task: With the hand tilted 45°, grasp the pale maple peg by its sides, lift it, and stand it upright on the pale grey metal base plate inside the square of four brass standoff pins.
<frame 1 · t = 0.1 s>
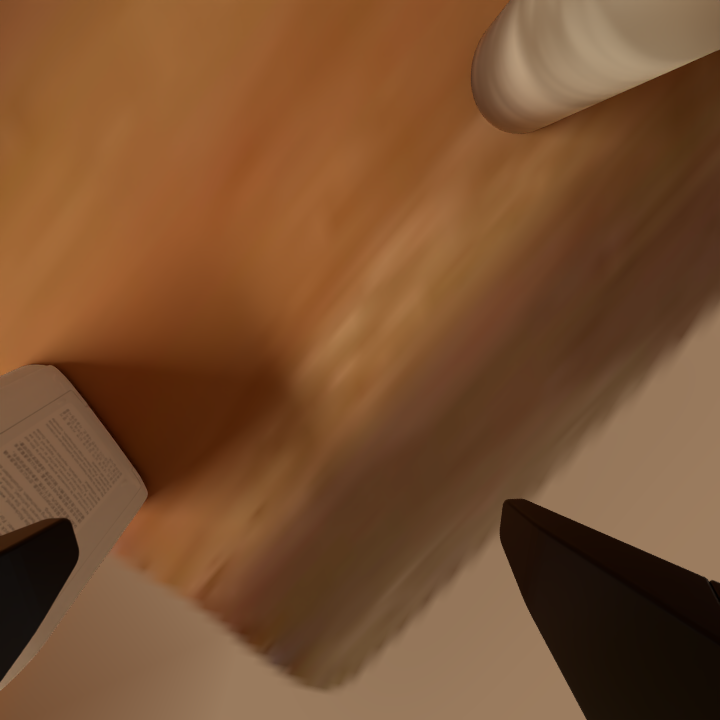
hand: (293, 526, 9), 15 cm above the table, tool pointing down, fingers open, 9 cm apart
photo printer: (82, 438, 24), on the table
maple peg: (524, 72, 19), on the table
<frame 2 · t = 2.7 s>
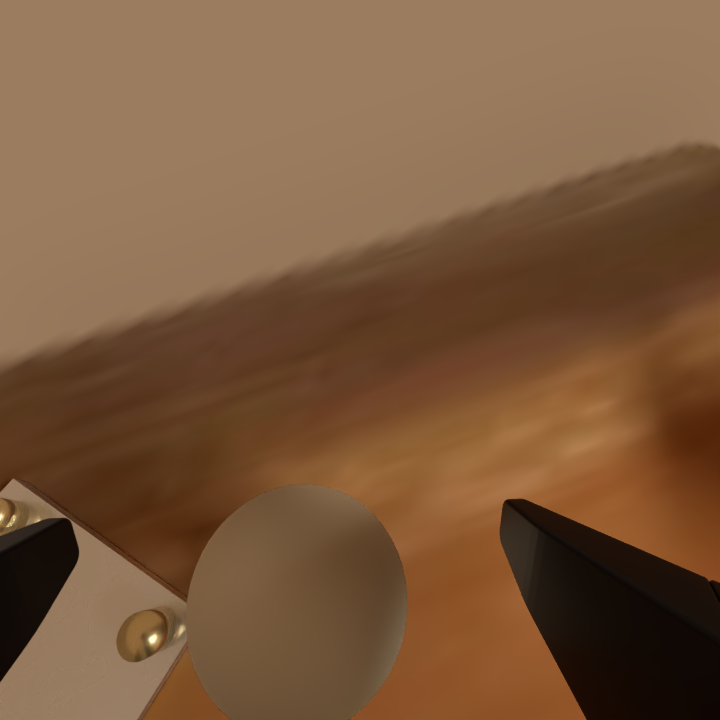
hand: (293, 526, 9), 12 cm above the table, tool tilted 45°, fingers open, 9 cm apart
base plate: (12, 673, 17), on the table
maple peg: (321, 578, 18), on the table
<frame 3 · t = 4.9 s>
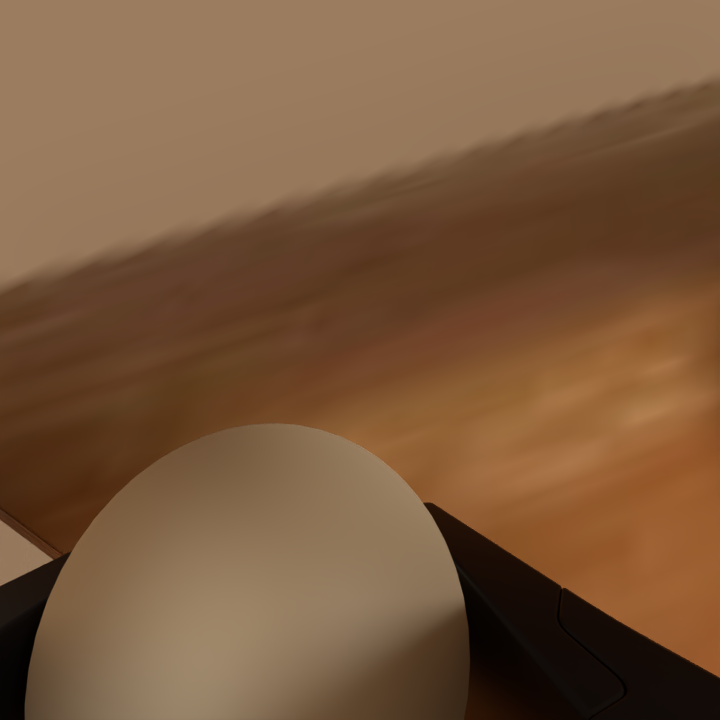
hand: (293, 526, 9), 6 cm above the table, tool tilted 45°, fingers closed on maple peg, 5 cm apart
maple peg: (313, 581, 14), on the table, touching gripper
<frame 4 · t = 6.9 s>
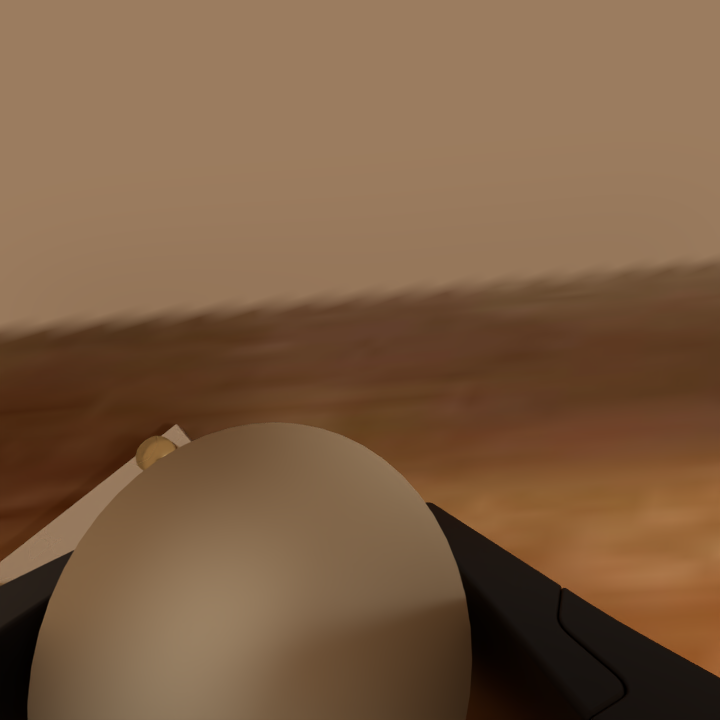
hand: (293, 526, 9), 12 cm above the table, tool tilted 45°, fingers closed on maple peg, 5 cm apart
base plate: (146, 604, 18), on the table
maple peg: (314, 581, 14), point 5 cm above the table, touching gripper
when the fingers open (8 cm above the table, at t = 8.7 s): maple peg drops 1 cm, resting on base plate.
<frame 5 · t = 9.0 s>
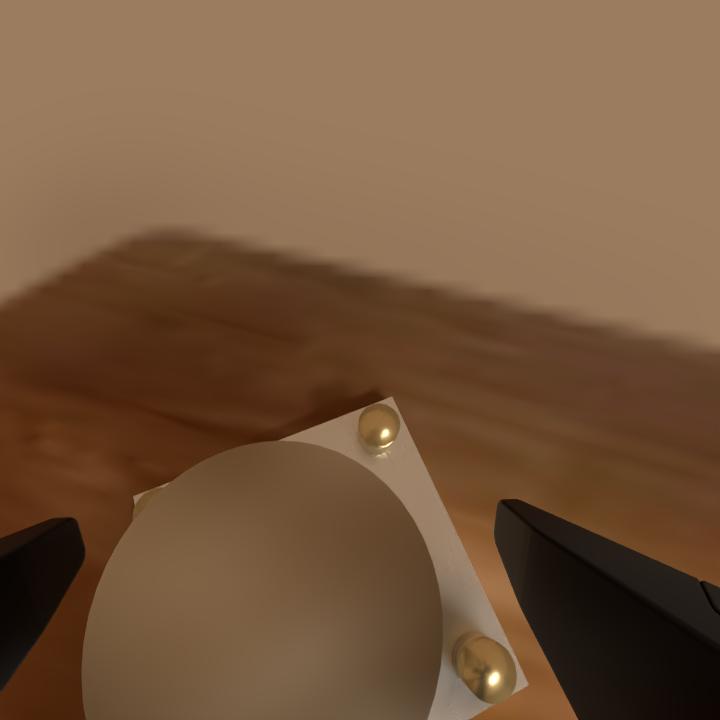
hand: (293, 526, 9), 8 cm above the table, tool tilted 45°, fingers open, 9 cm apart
base plate: (317, 582, 16), on the table
maple peg: (316, 581, 15), point 1 cm above the table, touching base plate
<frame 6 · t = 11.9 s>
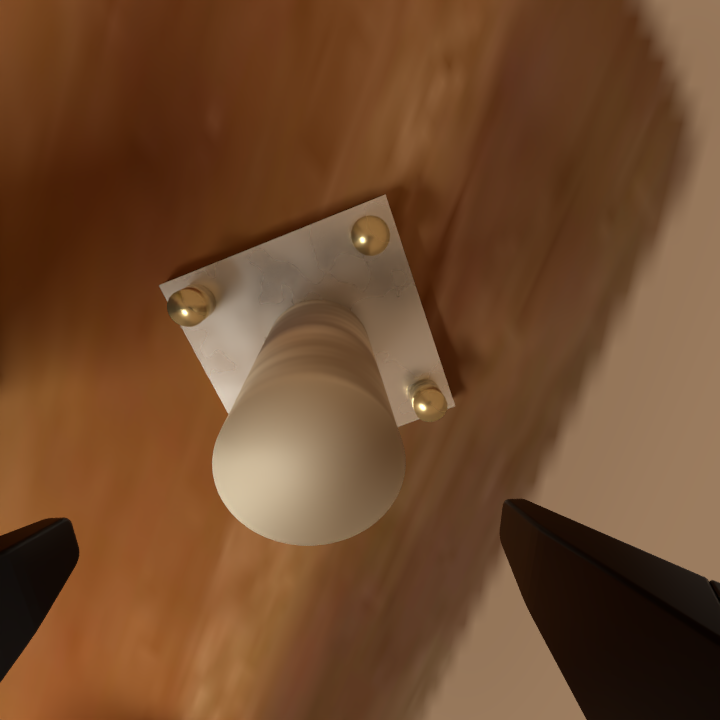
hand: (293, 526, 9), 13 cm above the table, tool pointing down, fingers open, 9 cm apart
base plate: (317, 345, 21), on the table
maple peg: (318, 350, 20), point 1 cm above the table, touching base plate
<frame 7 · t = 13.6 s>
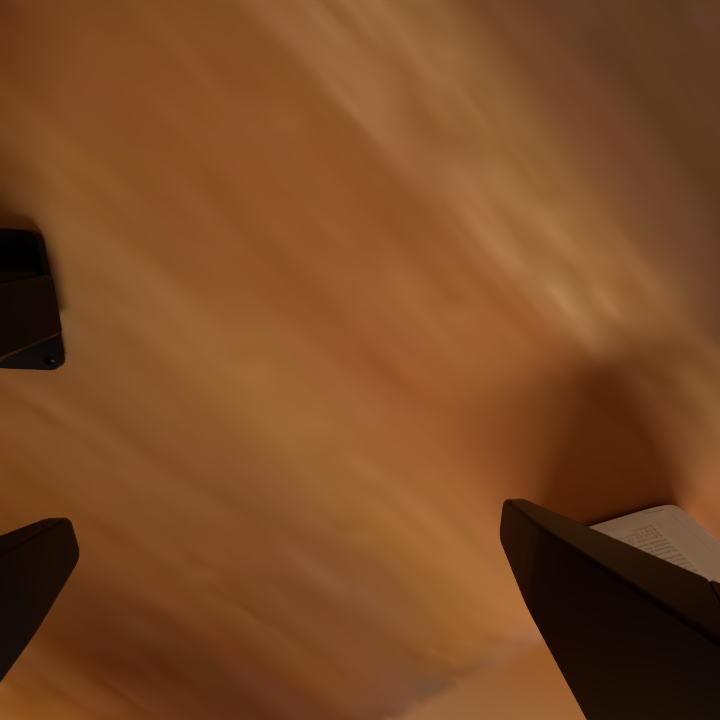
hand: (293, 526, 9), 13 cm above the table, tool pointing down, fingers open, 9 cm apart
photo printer: (598, 540, 27), on the table
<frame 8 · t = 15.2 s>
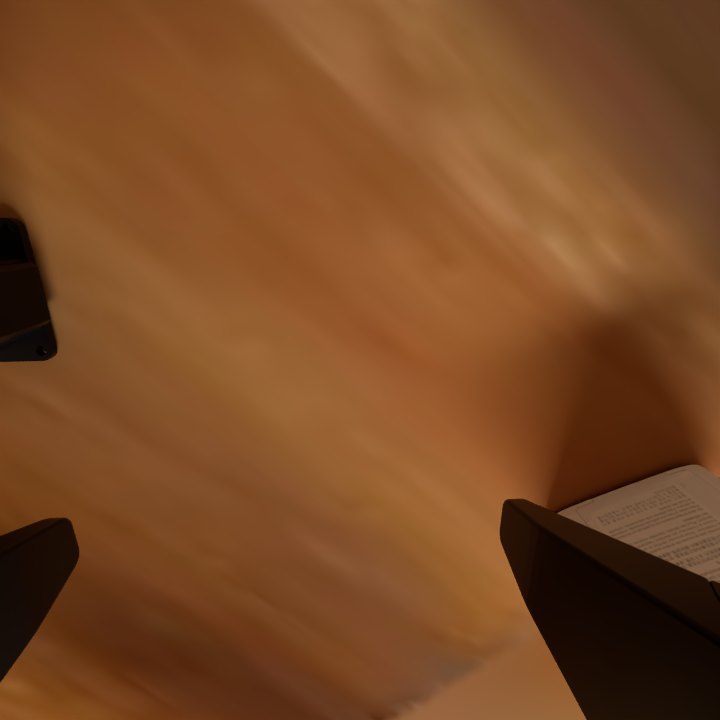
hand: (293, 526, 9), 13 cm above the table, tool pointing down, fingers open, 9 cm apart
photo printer: (619, 507, 26), on the table
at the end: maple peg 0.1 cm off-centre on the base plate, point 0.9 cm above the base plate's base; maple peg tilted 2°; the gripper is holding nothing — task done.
